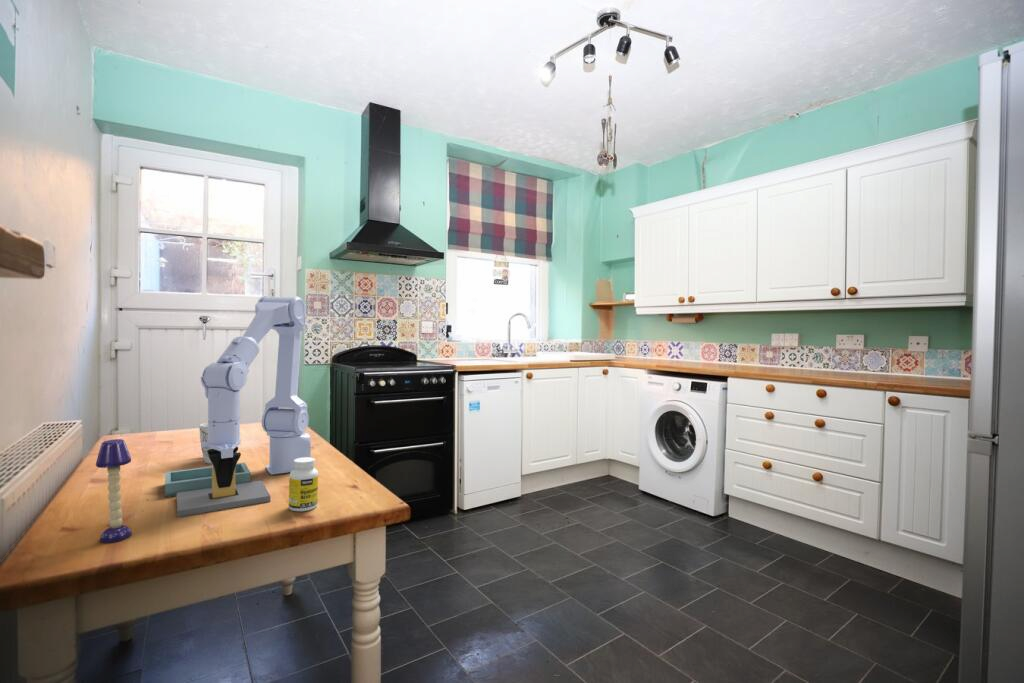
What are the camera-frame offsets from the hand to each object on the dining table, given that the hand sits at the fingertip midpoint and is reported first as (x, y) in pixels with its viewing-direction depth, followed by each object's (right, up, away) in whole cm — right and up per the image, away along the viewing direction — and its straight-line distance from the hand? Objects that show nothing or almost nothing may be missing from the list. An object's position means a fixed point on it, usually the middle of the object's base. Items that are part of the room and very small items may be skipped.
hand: (223, 484), depth 102 cm
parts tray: (-9, -3, +9) cm, 14 cm away
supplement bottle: (+18, -4, -3) cm, 19 cm away
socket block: (0, -3, 0) cm, 3 cm away
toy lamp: (-8, -4, -19) cm, 21 cm away
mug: (-20, -2, +30) cm, 36 cm away
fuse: (0, -2, 0) cm, 2 cm away
